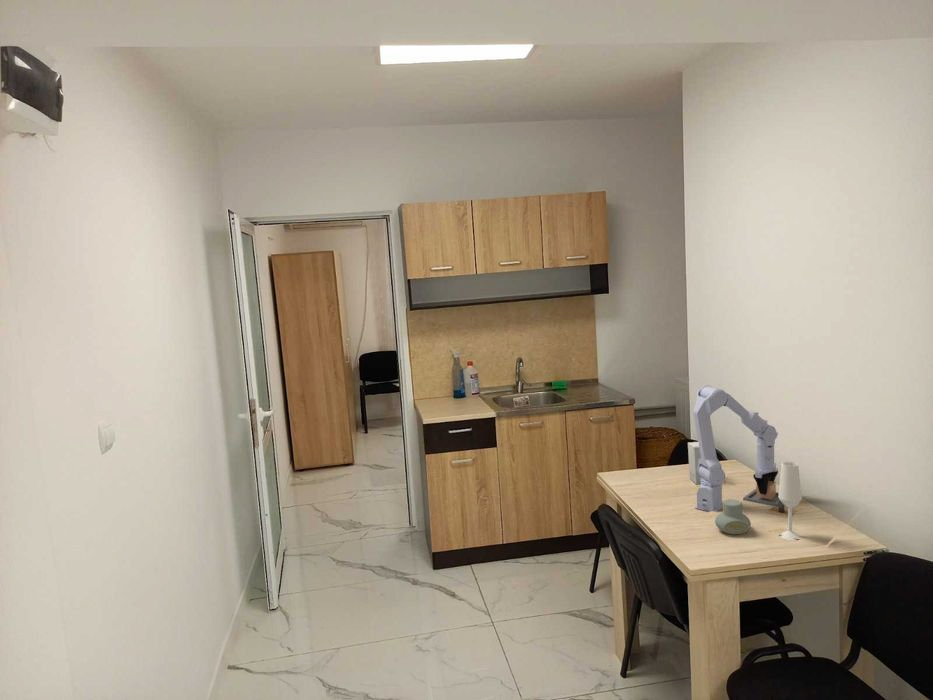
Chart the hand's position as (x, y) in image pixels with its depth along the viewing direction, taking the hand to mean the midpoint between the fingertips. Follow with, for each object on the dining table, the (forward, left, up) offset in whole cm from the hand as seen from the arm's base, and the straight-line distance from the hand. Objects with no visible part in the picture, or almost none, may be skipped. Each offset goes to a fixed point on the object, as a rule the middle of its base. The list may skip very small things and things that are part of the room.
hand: (766, 491), depth 245 cm
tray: (0, 0, -3) cm, 3 cm away
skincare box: (+7, +29, -3) cm, 30 cm away
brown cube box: (0, 0, -2) cm, 2 cm away
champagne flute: (-28, -18, -3) cm, 33 cm away
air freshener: (-34, -2, -3) cm, 34 cm away
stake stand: (-10, -9, -3) cm, 14 cm away
